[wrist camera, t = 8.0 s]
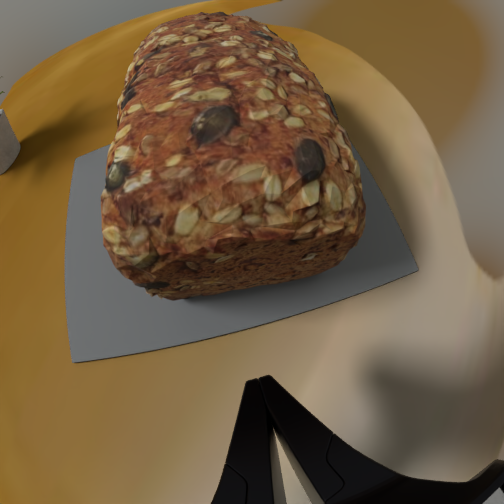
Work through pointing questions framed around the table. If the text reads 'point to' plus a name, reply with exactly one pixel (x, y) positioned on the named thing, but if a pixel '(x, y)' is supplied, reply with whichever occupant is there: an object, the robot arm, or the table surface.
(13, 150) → the house plant
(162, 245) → the bread
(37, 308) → the table surface
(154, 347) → the serving mat
